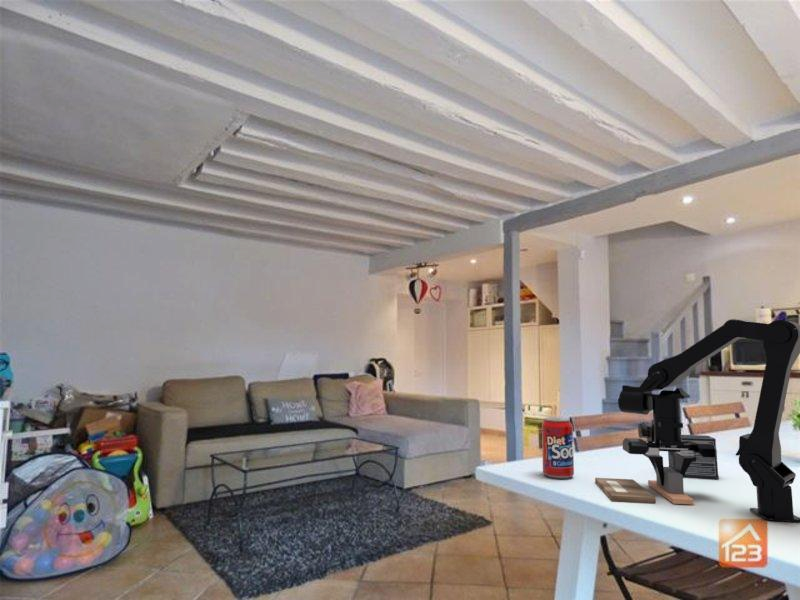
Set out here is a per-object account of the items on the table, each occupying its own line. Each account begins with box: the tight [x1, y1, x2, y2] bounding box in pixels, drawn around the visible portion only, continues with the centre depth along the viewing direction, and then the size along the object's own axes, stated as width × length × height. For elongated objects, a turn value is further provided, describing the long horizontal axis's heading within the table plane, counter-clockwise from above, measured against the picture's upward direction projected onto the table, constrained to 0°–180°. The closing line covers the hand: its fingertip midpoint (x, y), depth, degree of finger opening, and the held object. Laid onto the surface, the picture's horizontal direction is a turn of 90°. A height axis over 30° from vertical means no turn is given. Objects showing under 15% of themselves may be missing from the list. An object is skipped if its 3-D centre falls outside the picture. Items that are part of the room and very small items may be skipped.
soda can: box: [541, 416, 575, 480], centre depth 131 cm, size 8×8×15 cm
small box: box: [667, 434, 720, 480], centre depth 133 cm, size 11×6×10 cm, turn 74°
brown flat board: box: [594, 477, 657, 504], centre depth 116 cm, size 16×9×1 cm, turn 171°
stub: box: [647, 466, 695, 506], centre depth 115 cm, size 16×4×5 cm, turn 171°
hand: (669, 485), depth 115 cm, fingers closed on stub, 3 cm apart
